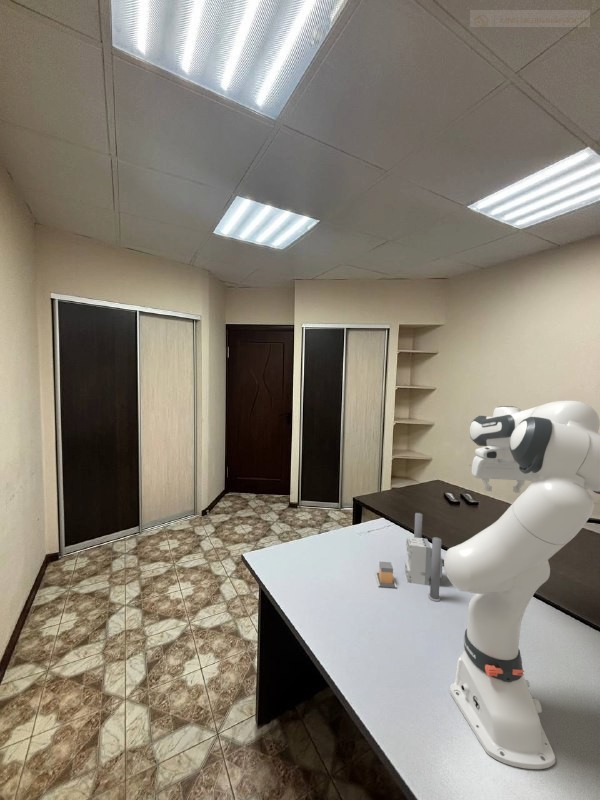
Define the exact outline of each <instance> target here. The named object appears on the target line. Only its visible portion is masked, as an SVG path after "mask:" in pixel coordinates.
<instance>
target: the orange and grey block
mask: <svg viewBox="0 0 600 800" xmlns="http://www.w3.org/2000/svg"><path fill="white" fill-rule="evenodd" d="M378 563H379V564H378V565H379V567H378V568H379V569H378V573H379V578H380V582H381V583H390V584H393V577H394V568H393V564H392V562H390V561H379V562H378Z"/></svg>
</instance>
